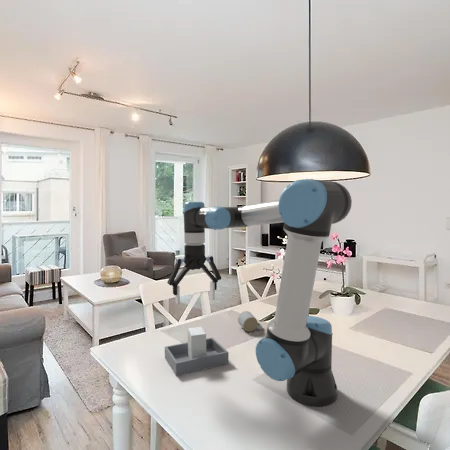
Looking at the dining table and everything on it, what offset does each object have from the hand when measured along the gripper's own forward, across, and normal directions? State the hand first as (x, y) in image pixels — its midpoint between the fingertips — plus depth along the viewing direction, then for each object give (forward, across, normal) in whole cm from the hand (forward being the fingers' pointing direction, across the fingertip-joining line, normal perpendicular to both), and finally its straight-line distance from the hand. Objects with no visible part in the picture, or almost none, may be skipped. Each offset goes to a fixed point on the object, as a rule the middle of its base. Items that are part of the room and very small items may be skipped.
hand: (195, 301), depth 120 cm
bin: (+22, 0, 0) cm, 23 cm away
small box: (+22, 0, 0) cm, 22 cm away
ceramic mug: (+23, -34, -18) cm, 45 cm away
